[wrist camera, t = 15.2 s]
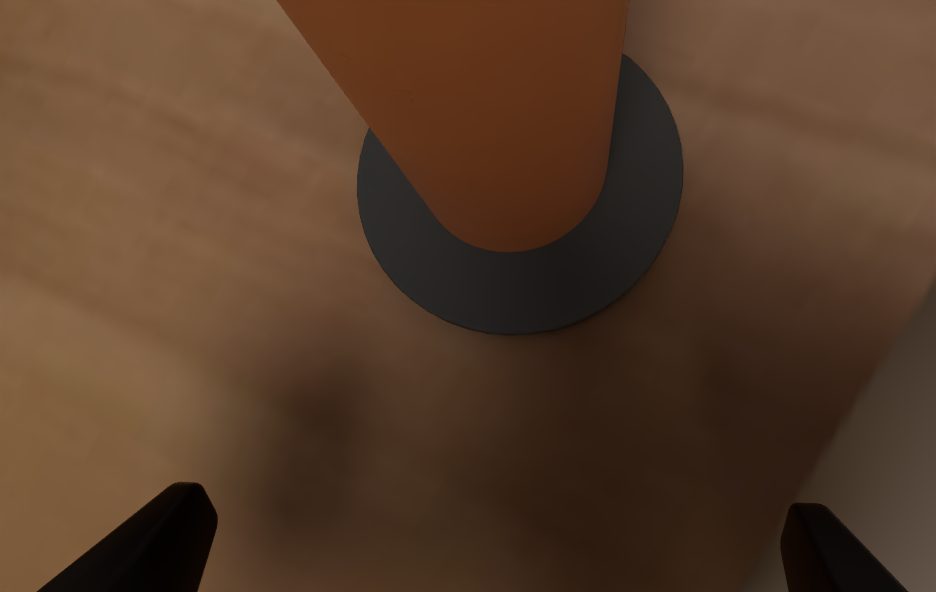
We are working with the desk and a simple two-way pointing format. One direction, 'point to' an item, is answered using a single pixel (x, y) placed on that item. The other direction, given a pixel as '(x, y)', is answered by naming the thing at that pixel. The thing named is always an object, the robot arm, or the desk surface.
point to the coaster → (550, 266)
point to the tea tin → (482, 103)
